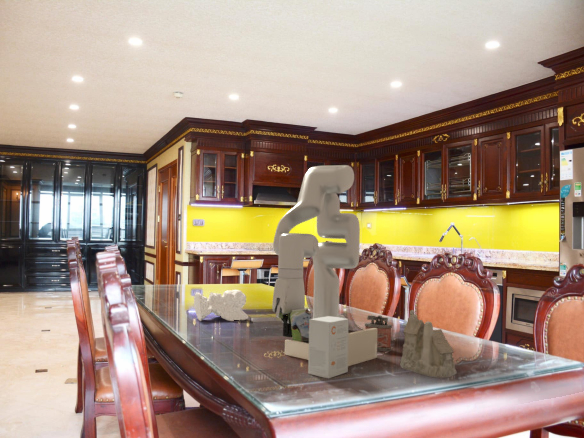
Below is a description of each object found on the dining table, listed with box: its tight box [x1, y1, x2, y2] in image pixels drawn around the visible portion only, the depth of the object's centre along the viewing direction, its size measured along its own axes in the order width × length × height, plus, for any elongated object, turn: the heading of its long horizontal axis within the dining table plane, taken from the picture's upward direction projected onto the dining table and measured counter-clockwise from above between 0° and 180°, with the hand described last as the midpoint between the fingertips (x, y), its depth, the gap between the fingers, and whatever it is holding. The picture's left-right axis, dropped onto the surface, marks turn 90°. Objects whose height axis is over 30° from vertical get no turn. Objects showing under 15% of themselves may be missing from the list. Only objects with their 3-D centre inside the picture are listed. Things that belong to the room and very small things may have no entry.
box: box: [284, 328, 378, 367], centre depth 136 cm, size 16×20×8 cm
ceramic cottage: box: [399, 309, 457, 378], centre depth 127 cm, size 16×16×15 cm
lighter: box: [364, 314, 393, 352], centre depth 147 cm, size 8×3×10 cm, turn 71°
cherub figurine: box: [193, 289, 249, 322], centre depth 195 cm, size 13×12×20 cm
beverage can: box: [290, 307, 312, 344], centre depth 143 cm, size 6×7×12 cm
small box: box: [307, 316, 350, 379], centre depth 118 cm, size 8×6×13 cm
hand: (288, 336), depth 146 cm, fingers closed
